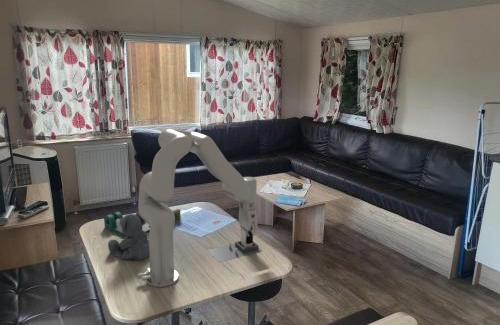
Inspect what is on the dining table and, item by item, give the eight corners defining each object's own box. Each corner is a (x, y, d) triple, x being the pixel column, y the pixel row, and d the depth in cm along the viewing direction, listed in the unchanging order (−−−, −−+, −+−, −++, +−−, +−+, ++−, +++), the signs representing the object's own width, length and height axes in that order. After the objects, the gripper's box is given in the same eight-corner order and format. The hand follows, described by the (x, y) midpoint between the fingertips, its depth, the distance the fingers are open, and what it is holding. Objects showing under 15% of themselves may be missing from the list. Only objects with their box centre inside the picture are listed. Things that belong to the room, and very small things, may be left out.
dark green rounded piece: (104, 228, 200) (103, 214, 198) (116, 224, 206) (115, 210, 203) (126, 238, 190) (125, 223, 188) (137, 233, 195) (136, 219, 193)
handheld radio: (181, 221, 212) (144, 237, 192) (177, 219, 213) (140, 235, 194) (181, 209, 210) (143, 224, 190) (177, 208, 212) (139, 223, 192)
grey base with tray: (218, 264, 169) (219, 256, 168) (207, 252, 179) (207, 245, 178) (262, 252, 179) (262, 246, 178) (249, 242, 189) (249, 235, 188)
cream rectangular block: (245, 247, 179) (245, 231, 177) (241, 243, 182) (241, 228, 180) (252, 245, 181) (253, 229, 178) (248, 242, 184) (248, 226, 182)
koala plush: (140, 240, 188) (138, 202, 183) (161, 253, 176) (160, 213, 171) (106, 252, 176) (103, 212, 171) (127, 267, 164) (124, 225, 159)
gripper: (264, 209, 171) (263, 247, 176) (246, 197, 185) (245, 232, 190) (249, 212, 167) (248, 250, 172) (231, 199, 181) (231, 235, 186)
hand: (246, 240), depth 181 cm, fingers closed on cream rectangular block, 4 cm apart
